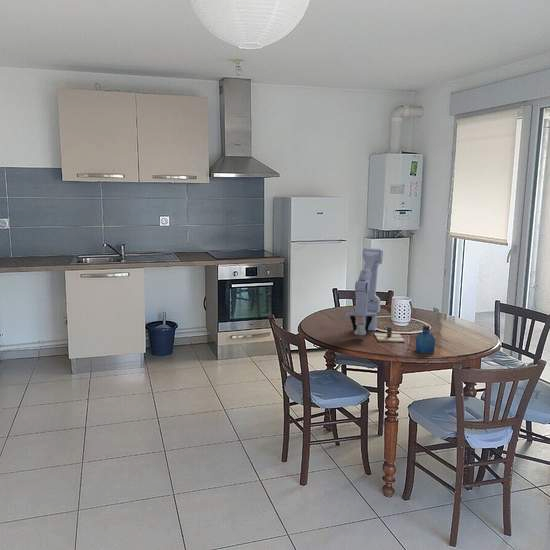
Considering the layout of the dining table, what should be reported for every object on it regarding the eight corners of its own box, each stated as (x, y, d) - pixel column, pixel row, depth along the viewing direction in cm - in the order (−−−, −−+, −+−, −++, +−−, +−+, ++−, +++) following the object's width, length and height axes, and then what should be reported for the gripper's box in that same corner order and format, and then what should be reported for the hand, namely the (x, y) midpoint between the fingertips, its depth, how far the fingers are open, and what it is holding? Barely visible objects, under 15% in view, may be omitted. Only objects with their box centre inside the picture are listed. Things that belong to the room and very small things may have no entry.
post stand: (374, 334, 277) (374, 323, 276) (399, 335, 277) (399, 324, 276) (378, 342, 264) (379, 330, 263) (404, 342, 264) (405, 330, 263)
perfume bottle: (422, 353, 247) (424, 328, 245) (415, 349, 253) (417, 325, 251) (434, 352, 249) (435, 327, 247) (426, 348, 255) (428, 324, 253)
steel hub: (354, 331, 272) (354, 322, 271) (364, 332, 272) (365, 322, 271) (355, 334, 266) (355, 325, 265) (366, 335, 266) (366, 325, 265)
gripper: (347, 305, 262) (346, 332, 265) (377, 306, 262) (376, 333, 265) (346, 302, 269) (345, 328, 272) (374, 303, 269) (373, 329, 272)
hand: (360, 330), depth 269 cm, fingers closed on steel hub, 5 cm apart
